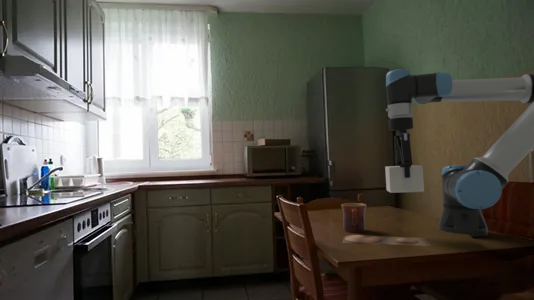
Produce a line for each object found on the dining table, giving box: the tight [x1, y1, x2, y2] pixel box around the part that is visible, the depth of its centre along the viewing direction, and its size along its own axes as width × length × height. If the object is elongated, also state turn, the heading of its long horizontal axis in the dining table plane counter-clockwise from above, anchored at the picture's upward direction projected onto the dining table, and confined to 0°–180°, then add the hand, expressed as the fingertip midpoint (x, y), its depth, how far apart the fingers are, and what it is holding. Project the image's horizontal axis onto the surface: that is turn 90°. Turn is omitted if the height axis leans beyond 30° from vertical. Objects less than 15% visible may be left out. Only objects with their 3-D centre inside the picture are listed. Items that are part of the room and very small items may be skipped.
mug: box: [340, 202, 367, 234], centre depth 129 cm, size 12×9×10 cm
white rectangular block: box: [384, 164, 425, 194], centre depth 120 cm, size 10×9×8 cm
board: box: [342, 234, 432, 247], centre depth 114 cm, size 25×11×2 cm, turn 75°
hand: (404, 186), depth 120 cm, fingers closed on white rectangular block, 9 cm apart
